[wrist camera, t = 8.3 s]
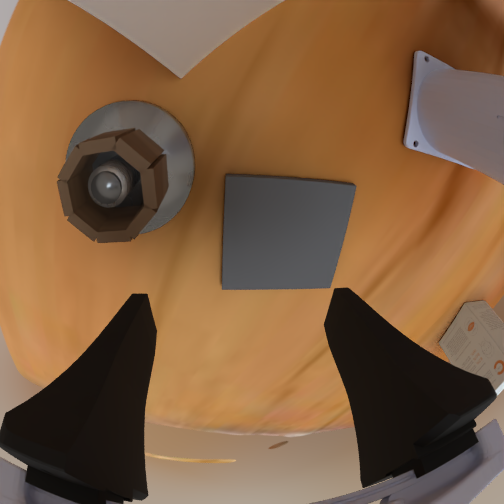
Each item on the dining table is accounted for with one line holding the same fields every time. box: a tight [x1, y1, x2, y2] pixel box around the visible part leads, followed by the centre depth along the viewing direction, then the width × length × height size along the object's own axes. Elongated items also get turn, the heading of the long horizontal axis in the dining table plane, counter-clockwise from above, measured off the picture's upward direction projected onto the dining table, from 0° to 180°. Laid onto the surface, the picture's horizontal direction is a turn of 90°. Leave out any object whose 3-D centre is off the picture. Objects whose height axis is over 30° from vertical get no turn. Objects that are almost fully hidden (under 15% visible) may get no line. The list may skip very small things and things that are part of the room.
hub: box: [66, 101, 195, 234], centre depth 15 cm, size 9×9×4 cm
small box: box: [439, 300, 504, 395], centre depth 26 cm, size 8×6×13 cm
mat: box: [222, 174, 356, 290], centre depth 20 cm, size 9×9×1 cm
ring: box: [57, 128, 169, 243], centre depth 14 cm, size 6×6×4 cm
